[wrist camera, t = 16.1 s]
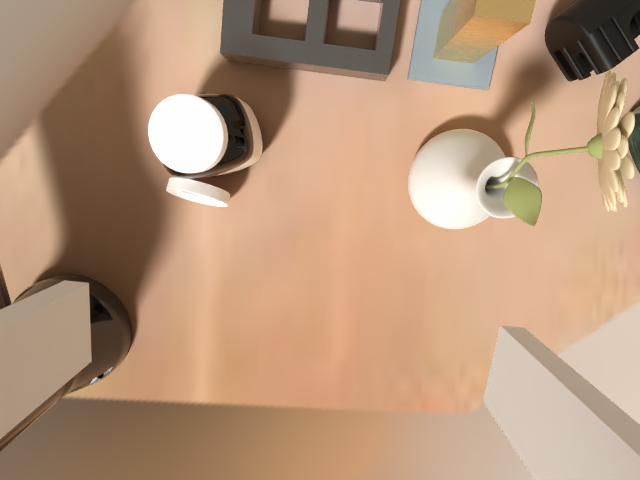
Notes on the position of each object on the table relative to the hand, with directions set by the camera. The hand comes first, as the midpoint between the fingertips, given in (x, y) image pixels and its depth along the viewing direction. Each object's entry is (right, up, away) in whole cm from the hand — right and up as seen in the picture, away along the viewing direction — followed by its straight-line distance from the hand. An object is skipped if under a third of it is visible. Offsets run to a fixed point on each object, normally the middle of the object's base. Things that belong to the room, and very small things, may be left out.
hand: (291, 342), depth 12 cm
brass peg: (+16, +25, +28) cm, 41 cm away
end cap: (+30, +26, +28) cm, 49 cm away
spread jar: (-11, +13, +32) cm, 37 cm away
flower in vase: (+17, +11, +32) cm, 38 cm away
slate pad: (+16, +25, +28) cm, 41 cm away
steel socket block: (0, +27, +28) cm, 40 cm away
